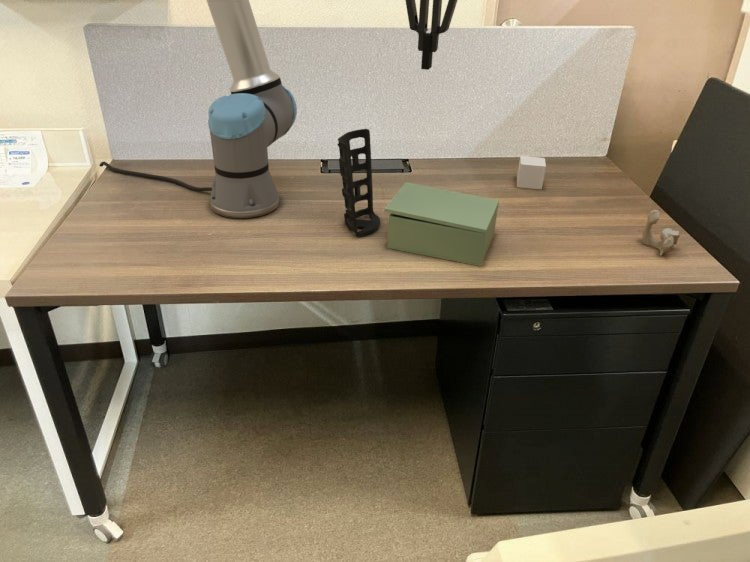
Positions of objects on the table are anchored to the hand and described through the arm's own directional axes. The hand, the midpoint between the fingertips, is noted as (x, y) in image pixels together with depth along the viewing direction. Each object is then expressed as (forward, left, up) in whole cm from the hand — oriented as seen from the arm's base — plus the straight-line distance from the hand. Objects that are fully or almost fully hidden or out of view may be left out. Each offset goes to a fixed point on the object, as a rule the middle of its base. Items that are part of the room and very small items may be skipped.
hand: (426, 67), depth 124 cm
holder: (-8, -16, -31) cm, 36 cm away
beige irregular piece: (+53, -2, -31) cm, 61 cm away
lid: (+10, -16, -23) cm, 30 cm away
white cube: (+23, +22, -31) cm, 44 cm away
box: (+10, -16, -30) cm, 36 cm away
